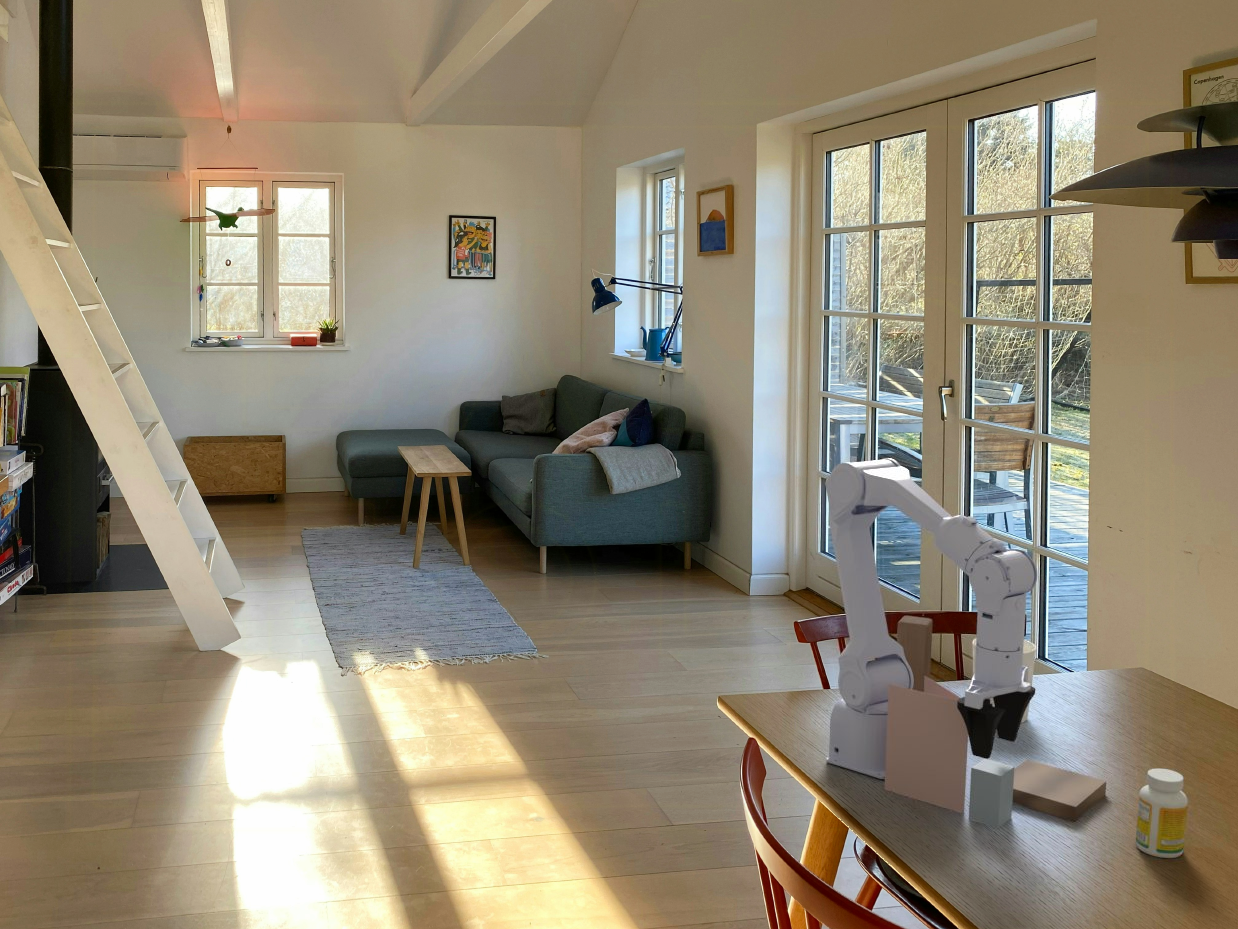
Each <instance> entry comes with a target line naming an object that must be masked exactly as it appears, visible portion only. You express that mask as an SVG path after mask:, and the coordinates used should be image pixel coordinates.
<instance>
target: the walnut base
mask: <svg viewBox="0 0 1238 929" xmlns="http://www.w3.org/2000/svg"><path fill="white" fill-rule="evenodd" d="M1106 791H1107V781H1106V780H1103V779H1099V778H1096V777H1092V776H1089V775H1085V774H1081V773H1078V772H1074V771H1071V770H1067V769H1065V768H1064V769H1063V768H1060V767H1058V766H1057V767H1056V766H1053V765H1049V764H1045V763H1041V762H1038V761H1035V760H1030V759H1026V760H1024V761H1023V762H1021V763H1020V764H1019V765H1017V766H1016V767H1014V783H1013V800H1012V804H1015V805H1018V806H1022V807H1025V808H1028V809H1032V810H1034V811H1039V812H1042V813H1045V814H1049V815H1051V816H1055V817H1059V818H1062V819H1065V820H1068V821H1072V822H1076V821H1077V820H1079V819H1080V818H1081V817H1082V816H1083V815H1084V814H1085V813H1086V812H1088V811H1089V810H1090V809H1092V807H1094V806H1095V805H1096V804H1097V803H1098V802H1099V801H1101V800H1102V799H1103V798H1104V797H1105V796H1106V793H1107V792H1106Z"/></svg>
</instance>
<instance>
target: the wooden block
mask: <svg viewBox="0 0 1238 929" xmlns="http://www.w3.org/2000/svg"><path fill="white" fill-rule="evenodd" d="M933 625H934V624H933V619H932V618H929V617H922V616H921V617H919V616H913V615H904V616H902V618H901V619H900V620H899V621H898V622H897V633H896V642H897V643H899V644H900V645H901V646H902V647H903V650H904V655H905V658H906V661H907V662H908V664H909V666H910V668H911V670H912V673H913V678H914V684H913V688H912V690H916V691H920V692H924V676H926V677H928V678H929V679H931V664H932V644H933V643H932V642H933Z"/></svg>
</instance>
